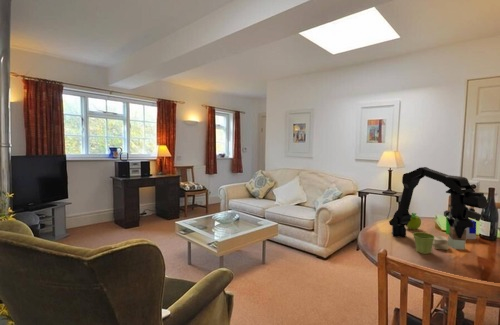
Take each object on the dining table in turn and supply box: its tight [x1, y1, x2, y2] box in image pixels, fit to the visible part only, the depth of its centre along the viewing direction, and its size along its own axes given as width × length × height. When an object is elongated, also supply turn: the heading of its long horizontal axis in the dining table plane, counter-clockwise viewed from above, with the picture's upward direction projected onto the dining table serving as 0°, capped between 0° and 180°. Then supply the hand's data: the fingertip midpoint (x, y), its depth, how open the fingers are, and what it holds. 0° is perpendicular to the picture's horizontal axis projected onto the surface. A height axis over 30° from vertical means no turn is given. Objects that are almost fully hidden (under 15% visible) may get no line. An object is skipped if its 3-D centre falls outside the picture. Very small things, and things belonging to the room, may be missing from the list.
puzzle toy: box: [445, 216, 477, 240], centre depth 151 cm, size 10×10×10 cm
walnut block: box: [448, 226, 467, 242], centre depth 122 cm, size 5×5×5 cm
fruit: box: [405, 212, 422, 231], centre depth 166 cm, size 9×9×10 cm
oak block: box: [432, 235, 449, 251], centre depth 136 cm, size 6×6×5 cm
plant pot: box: [412, 231, 436, 255], centre depth 131 cm, size 9×9×9 cm
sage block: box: [447, 235, 466, 250], centre depth 135 cm, size 5×5×5 cm
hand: (457, 236), depth 123 cm, fingers closed on walnut block, 5 cm apart
